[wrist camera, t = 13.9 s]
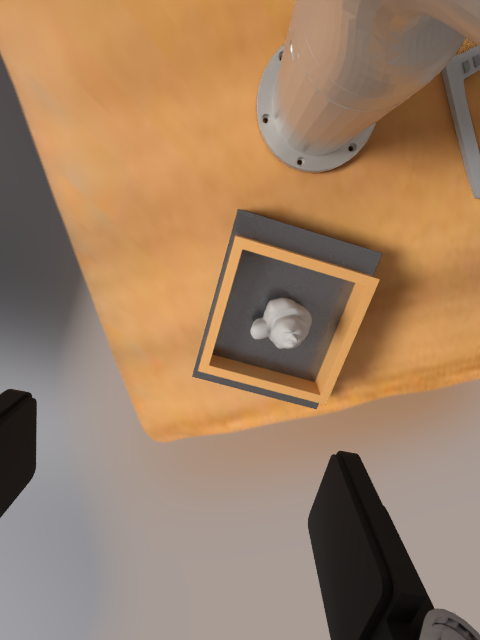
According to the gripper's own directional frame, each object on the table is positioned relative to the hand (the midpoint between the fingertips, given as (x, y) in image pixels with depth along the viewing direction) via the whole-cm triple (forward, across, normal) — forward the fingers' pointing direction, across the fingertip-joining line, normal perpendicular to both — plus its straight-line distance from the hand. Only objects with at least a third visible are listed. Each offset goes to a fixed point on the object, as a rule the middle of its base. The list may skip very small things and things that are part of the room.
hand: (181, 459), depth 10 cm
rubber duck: (+27, -6, +2) cm, 27 cm away
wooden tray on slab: (+30, -7, +3) cm, 31 cm away
